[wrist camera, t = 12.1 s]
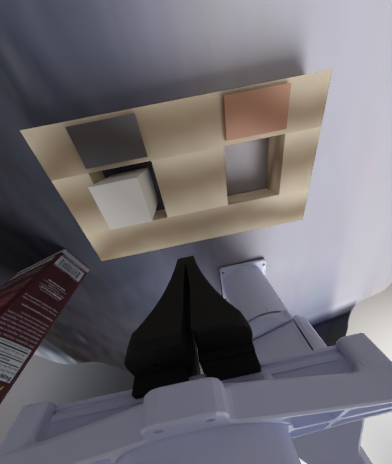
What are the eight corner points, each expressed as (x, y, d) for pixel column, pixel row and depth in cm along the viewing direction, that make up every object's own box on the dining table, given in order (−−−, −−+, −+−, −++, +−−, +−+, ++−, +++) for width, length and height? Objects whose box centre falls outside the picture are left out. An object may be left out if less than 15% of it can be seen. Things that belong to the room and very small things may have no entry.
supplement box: (48, 290, 25) (-107, 470, 11) (18, 271, 23) (-224, 469, 9) (92, 269, 24) (-19, 440, 10) (66, 246, 22) (-124, 429, 8)
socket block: (288, 210, 23) (304, 220, 20) (110, 247, 22) (100, 263, 19) (306, 81, 16) (336, 67, 13) (46, 132, 15) (15, 130, 12)
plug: (158, 200, 20) (152, 221, 15) (127, 206, 20) (110, 229, 15) (148, 167, 18) (137, 177, 13) (113, 174, 18) (87, 187, 13)
